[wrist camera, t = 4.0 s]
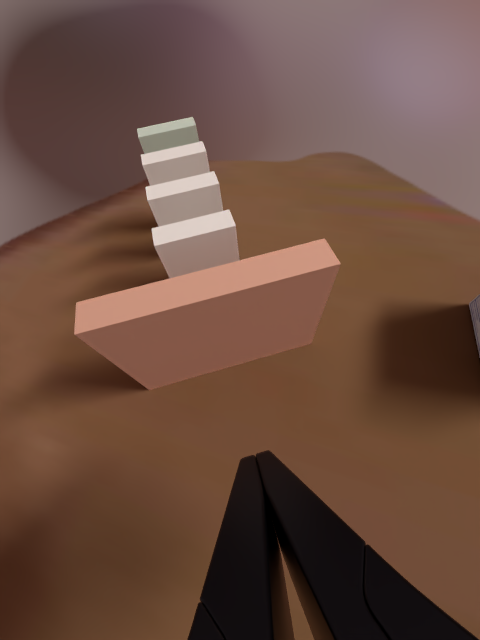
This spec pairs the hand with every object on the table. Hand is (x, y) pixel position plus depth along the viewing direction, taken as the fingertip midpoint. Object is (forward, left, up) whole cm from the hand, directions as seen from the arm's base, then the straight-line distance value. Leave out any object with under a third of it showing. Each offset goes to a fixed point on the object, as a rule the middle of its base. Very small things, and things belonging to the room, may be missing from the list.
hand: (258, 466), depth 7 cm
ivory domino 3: (+8, +11, -12) cm, 18 cm away
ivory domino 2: (+10, +15, -12) cm, 22 cm away
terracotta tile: (+5, +7, -12) cm, 15 cm away
